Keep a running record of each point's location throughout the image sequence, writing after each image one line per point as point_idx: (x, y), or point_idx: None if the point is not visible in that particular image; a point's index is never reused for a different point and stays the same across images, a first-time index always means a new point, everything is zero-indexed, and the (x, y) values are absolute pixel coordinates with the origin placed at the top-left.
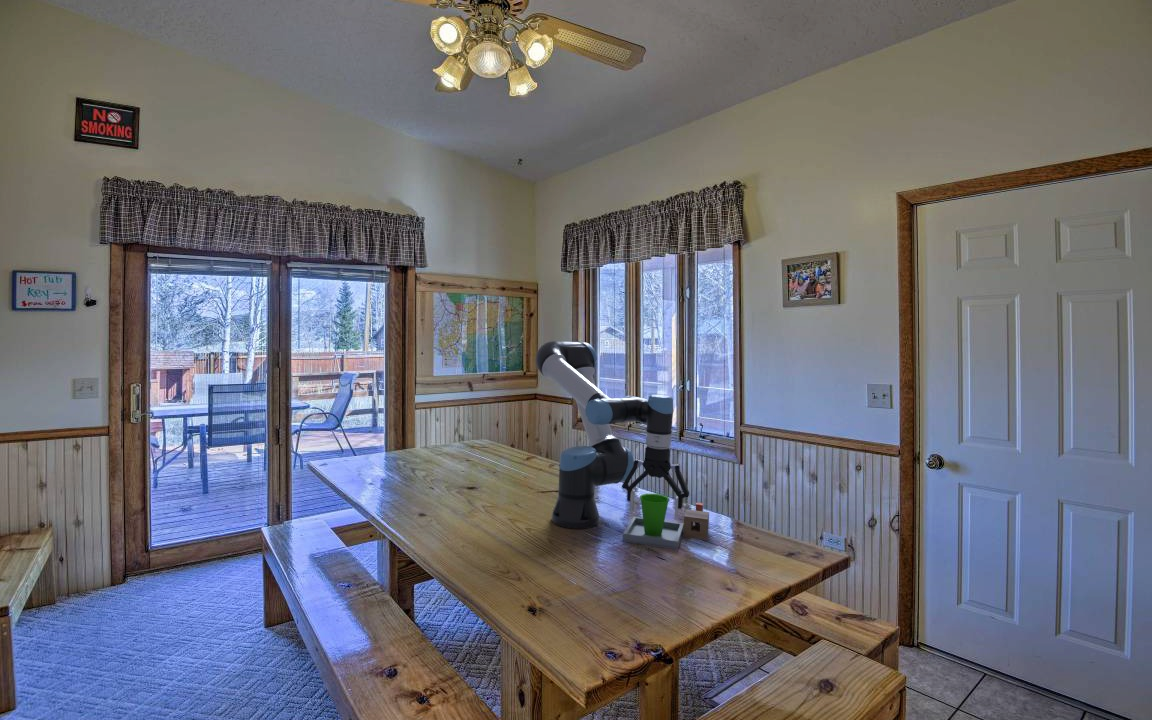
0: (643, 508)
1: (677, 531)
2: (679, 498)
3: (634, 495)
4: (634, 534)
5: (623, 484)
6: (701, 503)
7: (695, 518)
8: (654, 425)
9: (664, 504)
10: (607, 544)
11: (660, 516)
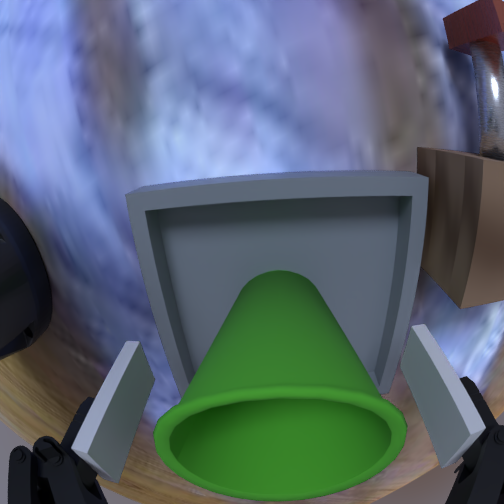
0: (221, 436)
1: (390, 226)
2: (462, 465)
3: (104, 420)
4: None
5: (45, 493)
6: None
7: (501, 298)
8: None
9: (358, 463)
10: (163, 407)
11: (327, 409)
